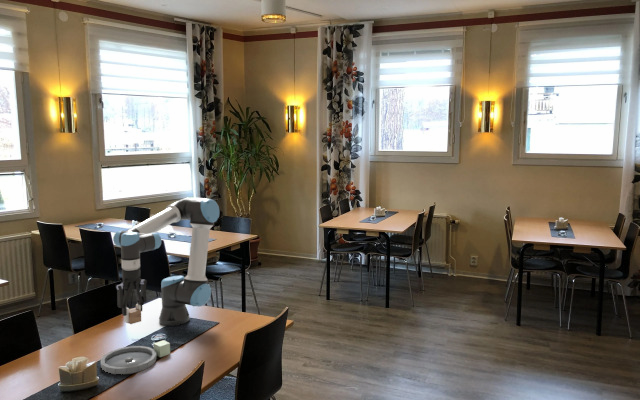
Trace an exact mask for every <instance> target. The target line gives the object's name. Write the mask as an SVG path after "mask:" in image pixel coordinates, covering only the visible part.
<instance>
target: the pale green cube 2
mask: <svg viewBox="0 0 640 400" xmlns="http://www.w3.org/2000/svg"><path fill="white" fill-rule="evenodd" d="M153 349H154V350H155V351H156V354H157V357H158V358H162V357H165V356H168V355H171V343H170V342H168V341H166V340H164V339H162V340H160V341H157V342H154V343H153Z"/></svg>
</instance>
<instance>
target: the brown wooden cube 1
mask: <svg viewBox="0 0 640 400" xmlns="http://www.w3.org/2000/svg"><path fill="white" fill-rule="evenodd" d="M140 322H142V311H141V310H139V309H136V307H134V308H129V323H128V324H129V325H133V324H137V323H140Z"/></svg>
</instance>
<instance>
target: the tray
mask: <svg viewBox="0 0 640 400" xmlns="http://www.w3.org/2000/svg"><path fill="white" fill-rule="evenodd" d="M157 357H158V356H157V354H156V351H155V350H154V348H152V347H149V346H144V345H143V346H142V345H131V346H125V347H120V348H115V349H114V350H111V351H109V352H107V353H106V354H104V355H103V356H102V357H101V359H100V368H102V369H101V370H102V371H103V370H104V371H105V372H104V371H103V372H104V373H106V372H108V373H107V374H109V373H111V374H110V375H116V374H121V375H122V374H123V375H131V374H135V373H140V372H142V371H144V370H148V369H149V368H151V367H152V366H153V365H154V364H156V362H157V359H158V358H157Z"/></svg>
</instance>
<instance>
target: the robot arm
mask: <svg viewBox="0 0 640 400" xmlns="http://www.w3.org/2000/svg"><path fill="white" fill-rule="evenodd" d="M219 218H220V207H219V205H218V203H217V202H216V200H215V199H212V198H208V197H207V198H205V197H204V198H203V197H191V196H190V197H184V198H181V199H179V200H177V201H174V202H172V203H170V204H168V205H167V206H166V207H165V209H164V210H162V211H160V212H158V213H156V214H155V215H152V216H150V217H149V218H147V219H145V220H143V221H142V222H140V223H138V224H136V225H133V227H131V228H128V229H127V230H118V231H116V232H115V233H114V235H113V239H112V240H113V244H114V245H115V246H116V247H119V248H120V255H121V269H122V270H121V278H122V280H121V283H120V284H115V289H116V295H117V297H116V298H117V299H116V302H117V304H116V305H117V307H118V308H120V309H121V315H122V316H123V321H124V323H125V324H129V309H130V308H129V307H128V304H129V299H130V294H131V291H132V290H133V293H134V296H135V298H136V302H137V303H136V304H135V308H136V309H139V310H141V312H143V306H144V304H145V303H146V302H147V282H148V281H147V279H142V278H141V253H145V252H149V251H155V250H156V249H159V248H160V247H161V245H162V237H161V236H160V234H159V233H157V232H159V231H161V230H162V229H164V228H166V227H167V226H169V225H171V224H174V223H178V222H181V221H186V220H187V221H189V225H190V226H191V228H192V230H191V239H190V248H189V257H188V259H189V260H188V268H187V275H185V276H184V275H173V276H168V277H166V278H165V277H164V278H163V279H162V280H161V283H160V285H161V287H160V290H161V291H160V292H161V310H160V315H159V318H158V321H159V322H158V323H159V324H160V325H162V326H166V327H168V326H169V327H174V326H175V325H176V326H180V324H181V325H184V324H187V323H188V322H189V321H190V314H189V313H190V312H189V310H188V309H187V306H192V307H203V306H205V305H206V304H207V302H209V300H210V298H211V295H212V287H211V286H210V284H208V278H207V276H206V267H207V261H208V249H209V243H210V241H209V239H210V231H211V228H212V227H214V223H215V222H217V221H218V219H219ZM139 285H140V286H139Z"/></svg>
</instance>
